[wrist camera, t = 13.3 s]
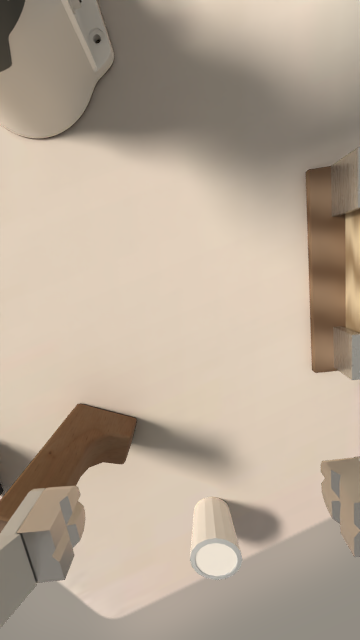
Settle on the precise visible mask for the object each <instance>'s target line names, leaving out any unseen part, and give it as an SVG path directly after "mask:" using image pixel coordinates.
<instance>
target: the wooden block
mask: <svg viewBox="0 0 360 640" xmlns="http://www.w3.org/2000/svg"><path fill="white" fill-rule="evenodd" d="M136 423H137V420H136V418H133V417H129V416H125V415H121V414H118V413H114V412H110V411H106V410H102V409H98V408H94V407H91V406H87V405H83V404H77V405H76V407H75V408H74V409H73V410H72V412H71V413H70V414H69V415H68V417H67V418H66V419H65V420H64V422H63V423H62V424H61V425H60V427H59V428H58V429H57V430H56V432H55V433H54V434H53V435H52V437H51V438H50V439H49V440H48V442H47V443H46V444H45V445H44V447H43V448H42V449H41V450H40V451H39V453H38V454H37V455H36V456H35V458H34V459H33V460H32V461H31V463H30V464H29V465H28V466H27V468H26V469H25V470H24V471H23V473H22V474H21V475H20V476H19V478H18V479H17V480H16V481H15V483H14V484H13V485H12V486H11V488H10V489H9V490H8V491H7V493H6V494H5V495H4V496H3V498H2V499H1V500H0V533H1V531H2V530H3V529H4V527H5V526H6V524H7V523H8V521H9V520H10V519H11V517H12V516H13V514H14V513H15V511H16V510H17V508H18V507H19V506H20V504H21V503H22V501H23V500H24V498H25V497H26V496H27V494H28V493H29V492H30V491H31V490H33V489H40V488H49V487H63V486H76V484H77V482H78V481H79V479H80V477H81V476H82V474H83V473H84V472H85V471H86V470H87V469H88V468H89V467H91V466H94V465H97V464H99V463H102V462H106V463H115V464H124V462H125V461H126V458H127V455H128V452H129V449H130V446H131V442H132V438H133V435H134V431H135V427H136Z"/></svg>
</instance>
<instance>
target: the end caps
mask: <svg viewBox="0 0 360 640" xmlns="http://www.w3.org/2000/svg"><path fill="white" fill-rule="evenodd" d="M331 200H332V217H333V216H340V215H343V214H347V213H350V212H353V211H356V210H359V209H360V147H358V148H356V149H355V150H354V151H352V152H351V153H349V154H348V155H346V156H345V157H344V158H342V159H341V160H339V161H338V162H336V163H335V164H333V165H332V166H331ZM333 340H334V368H336V369H337V370H338V371H340V372H341V373H343V374H344V375H345V376H347V377H348V378H350V379H351V380H358V379H360V333H357V332H355V331H352V330H350V329H347V328H345V327H342V326H338V327H333Z"/></svg>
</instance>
